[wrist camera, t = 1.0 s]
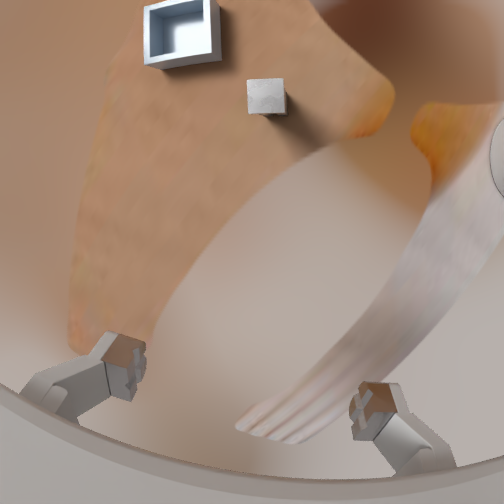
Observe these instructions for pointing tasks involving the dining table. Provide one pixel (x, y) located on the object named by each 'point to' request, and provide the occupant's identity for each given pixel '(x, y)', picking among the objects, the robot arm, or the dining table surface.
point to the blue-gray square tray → (182, 33)
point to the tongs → (267, 97)
